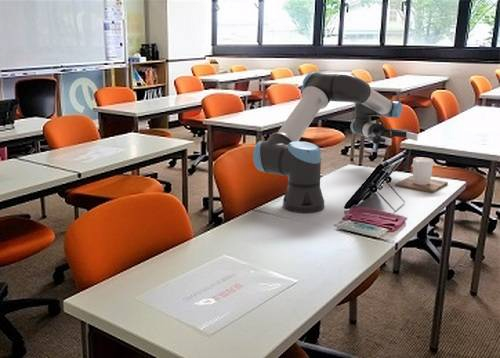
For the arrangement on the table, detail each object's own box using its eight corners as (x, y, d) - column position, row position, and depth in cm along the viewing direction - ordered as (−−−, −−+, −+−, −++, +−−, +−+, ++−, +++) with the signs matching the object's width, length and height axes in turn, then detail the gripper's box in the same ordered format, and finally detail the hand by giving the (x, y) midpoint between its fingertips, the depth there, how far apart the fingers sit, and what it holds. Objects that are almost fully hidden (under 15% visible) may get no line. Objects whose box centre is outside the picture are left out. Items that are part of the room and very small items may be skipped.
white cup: (431, 186, 208) (433, 162, 206) (411, 184, 211) (412, 161, 208) (431, 181, 216) (433, 158, 213) (411, 179, 218) (413, 156, 215)
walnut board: (432, 193, 203) (432, 190, 202) (394, 185, 213) (395, 183, 213) (447, 184, 214) (447, 182, 214) (411, 177, 224) (411, 175, 224)
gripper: (396, 135, 243) (427, 144, 224) (351, 142, 234) (379, 152, 215) (396, 119, 241) (427, 127, 222) (351, 126, 232) (379, 135, 213)
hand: (404, 139), depth 219 cm, fingers open, 13 cm apart
